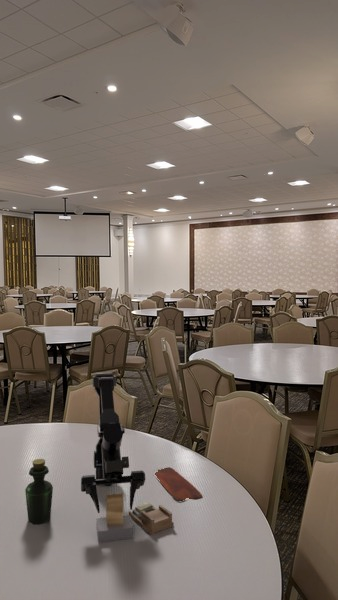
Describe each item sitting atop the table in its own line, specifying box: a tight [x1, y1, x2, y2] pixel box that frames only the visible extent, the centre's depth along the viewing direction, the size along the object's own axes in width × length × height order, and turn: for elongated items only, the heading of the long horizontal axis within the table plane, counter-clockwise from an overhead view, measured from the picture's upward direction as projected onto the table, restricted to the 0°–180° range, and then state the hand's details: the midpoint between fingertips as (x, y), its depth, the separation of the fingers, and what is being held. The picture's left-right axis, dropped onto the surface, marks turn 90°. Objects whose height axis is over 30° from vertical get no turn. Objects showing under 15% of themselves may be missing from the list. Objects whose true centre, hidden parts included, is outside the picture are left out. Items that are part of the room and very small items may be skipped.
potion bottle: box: [24, 458, 54, 525], centre depth 137 cm, size 8×8×18 cm
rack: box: [128, 501, 175, 535], centre depth 137 cm, size 13×8×4 cm, turn 34°
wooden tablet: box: [155, 466, 203, 502], centre depth 162 cm, size 27×10×2 cm, turn 23°
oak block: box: [105, 492, 124, 526], centre depth 130 cm, size 2×5×8 cm, turn 102°
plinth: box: [95, 514, 135, 543], centre depth 130 cm, size 7×10×3 cm
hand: (115, 511), depth 129 cm, fingers open, 9 cm apart
